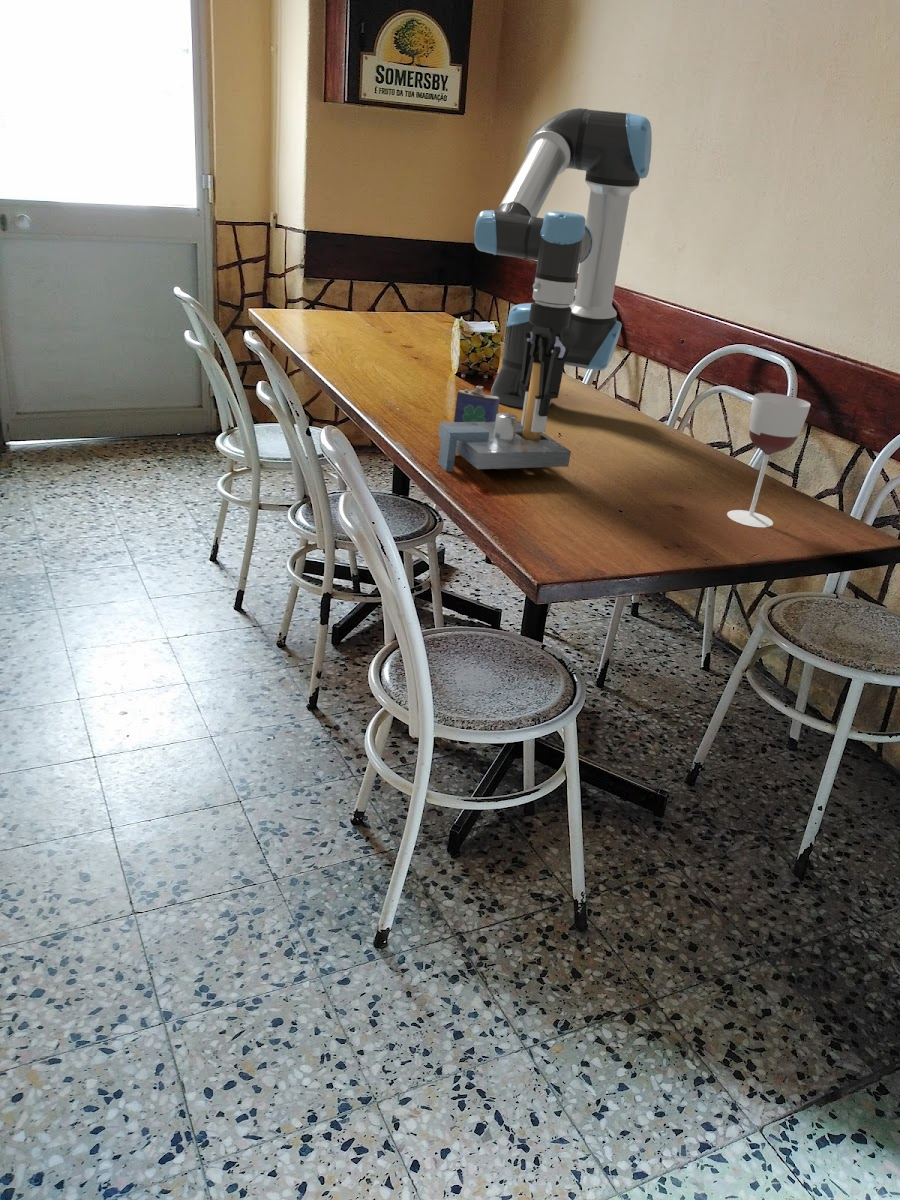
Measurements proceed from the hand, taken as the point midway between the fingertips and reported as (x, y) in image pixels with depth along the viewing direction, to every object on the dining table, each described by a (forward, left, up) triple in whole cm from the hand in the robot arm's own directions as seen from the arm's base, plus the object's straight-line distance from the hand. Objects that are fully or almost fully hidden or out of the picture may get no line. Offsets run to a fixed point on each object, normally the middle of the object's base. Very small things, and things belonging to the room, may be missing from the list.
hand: (532, 427), depth 179 cm
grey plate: (+7, 0, -8) cm, 11 cm away
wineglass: (-30, +32, -8) cm, 44 cm away
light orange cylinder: (0, 0, -4) cm, 4 cm away
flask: (+3, -19, -8) cm, 21 cm away
